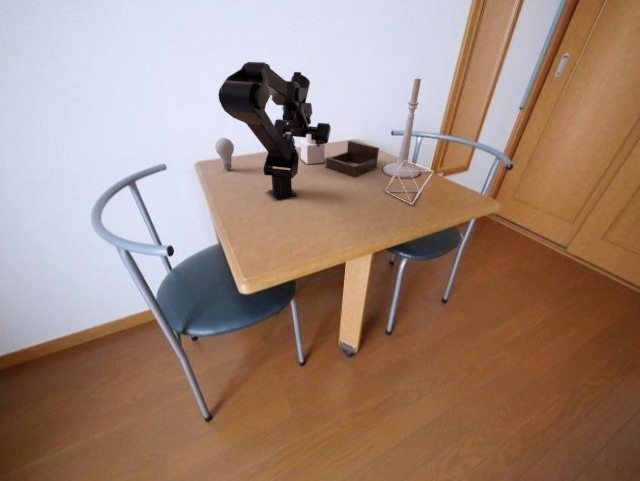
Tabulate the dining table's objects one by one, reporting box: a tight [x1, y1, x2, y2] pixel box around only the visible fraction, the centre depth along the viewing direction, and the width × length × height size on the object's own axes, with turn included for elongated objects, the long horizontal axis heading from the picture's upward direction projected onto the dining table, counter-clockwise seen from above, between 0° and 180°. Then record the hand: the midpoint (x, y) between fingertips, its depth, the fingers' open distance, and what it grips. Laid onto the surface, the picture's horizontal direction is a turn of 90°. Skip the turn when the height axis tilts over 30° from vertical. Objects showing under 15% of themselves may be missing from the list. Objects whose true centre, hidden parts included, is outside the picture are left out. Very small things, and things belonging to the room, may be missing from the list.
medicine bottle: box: [300, 134, 326, 165], centre depth 109 cm, size 7×7×12 cm
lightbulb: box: [214, 137, 235, 171], centre depth 99 cm, size 6×6×11 cm
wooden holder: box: [325, 140, 380, 178], centre depth 105 cm, size 13×13×8 cm
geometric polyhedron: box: [385, 160, 435, 205], centre depth 84 cm, size 12×11×9 cm
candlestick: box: [382, 78, 422, 179], centre depth 96 cm, size 13×13×30 cm
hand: (306, 145), depth 102 cm, fingers open, 9 cm apart
